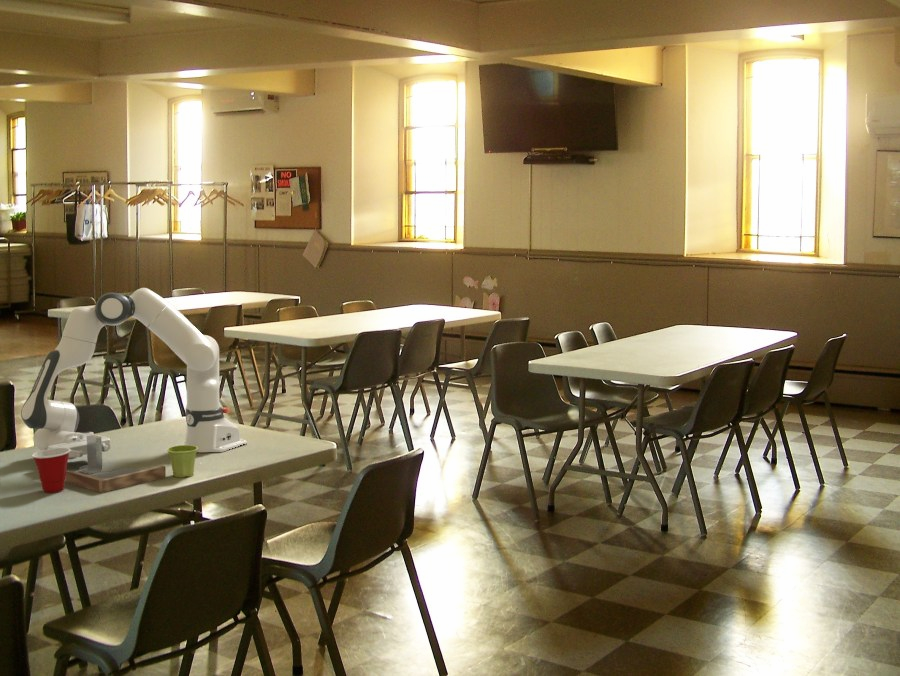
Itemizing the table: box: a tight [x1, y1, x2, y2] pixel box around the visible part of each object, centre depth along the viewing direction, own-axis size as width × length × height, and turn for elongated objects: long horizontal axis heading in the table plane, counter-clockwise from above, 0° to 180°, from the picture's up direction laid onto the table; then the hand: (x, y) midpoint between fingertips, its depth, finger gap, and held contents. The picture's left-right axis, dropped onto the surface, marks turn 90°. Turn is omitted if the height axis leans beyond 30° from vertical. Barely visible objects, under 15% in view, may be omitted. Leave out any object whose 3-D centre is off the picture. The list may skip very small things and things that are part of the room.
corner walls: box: [65, 465, 167, 493], centre depth 332 cm, size 23×19×4 cm
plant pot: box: [166, 444, 198, 479], centre depth 338 cm, size 9×9×9 cm
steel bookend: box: [79, 434, 103, 475], centre depth 342 cm, size 5×5×11 cm
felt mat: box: [92, 466, 141, 479], centre depth 334 cm, size 20×16×1 cm
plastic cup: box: [31, 448, 70, 494], centre depth 320 cm, size 11×11×12 cm
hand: (93, 451), depth 344 cm, fingers open, 8 cm apart
